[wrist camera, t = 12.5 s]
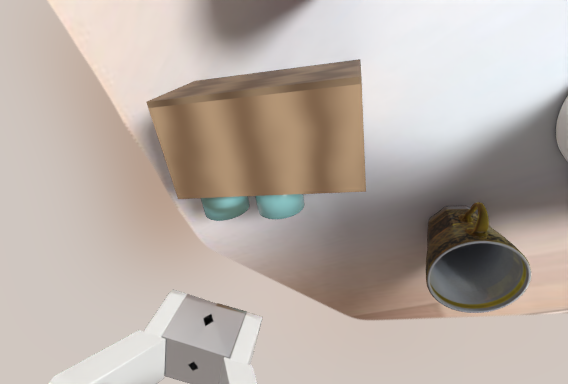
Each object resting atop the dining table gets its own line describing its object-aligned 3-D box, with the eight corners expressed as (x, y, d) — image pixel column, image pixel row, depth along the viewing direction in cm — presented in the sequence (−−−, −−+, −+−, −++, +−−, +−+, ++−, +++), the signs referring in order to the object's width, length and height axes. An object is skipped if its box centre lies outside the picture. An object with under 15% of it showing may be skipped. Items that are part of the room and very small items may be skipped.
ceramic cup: (490, 257, 45) (521, 315, 36) (411, 256, 47) (424, 311, 39) (506, 169, 39) (548, 214, 31) (416, 173, 42) (431, 215, 33)
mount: (360, 59, 37) (361, 76, 27) (365, 181, 43) (367, 228, 34) (194, 81, 41) (146, 101, 32) (222, 187, 48) (188, 231, 39)
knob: (292, 82, 36) (282, 93, 31) (307, 194, 42) (300, 218, 37) (243, 88, 37) (226, 100, 33) (264, 196, 44) (253, 219, 39)
